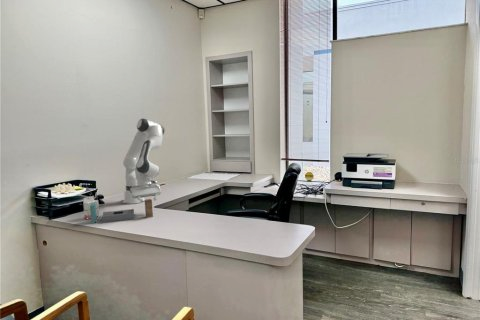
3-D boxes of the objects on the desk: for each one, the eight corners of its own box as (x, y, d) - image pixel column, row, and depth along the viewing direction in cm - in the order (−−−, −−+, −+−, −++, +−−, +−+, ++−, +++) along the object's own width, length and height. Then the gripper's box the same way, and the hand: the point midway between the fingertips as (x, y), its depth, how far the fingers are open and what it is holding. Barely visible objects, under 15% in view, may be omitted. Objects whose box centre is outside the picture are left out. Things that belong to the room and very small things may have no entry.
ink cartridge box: (88, 219, 224) (87, 198, 222) (84, 218, 226) (82, 198, 225) (99, 216, 231) (98, 196, 229) (95, 215, 234) (93, 195, 232)
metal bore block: (104, 217, 227) (103, 212, 227) (134, 214, 233) (133, 209, 233) (102, 222, 216) (101, 216, 215) (134, 219, 222) (133, 213, 221)
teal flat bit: (92, 220, 222) (91, 203, 221) (96, 220, 223) (95, 202, 221) (91, 223, 215) (89, 205, 214) (95, 222, 216) (94, 205, 215)
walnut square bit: (145, 216, 228) (144, 199, 226) (151, 215, 229) (150, 198, 228) (147, 217, 224) (145, 200, 223) (152, 216, 226) (151, 199, 224)
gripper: (129, 184, 229) (133, 200, 222) (158, 180, 239) (163, 196, 231) (129, 189, 234) (132, 206, 226) (157, 185, 243) (162, 201, 236)
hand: (148, 201), depth 229 cm, fingers open, 8 cm apart
